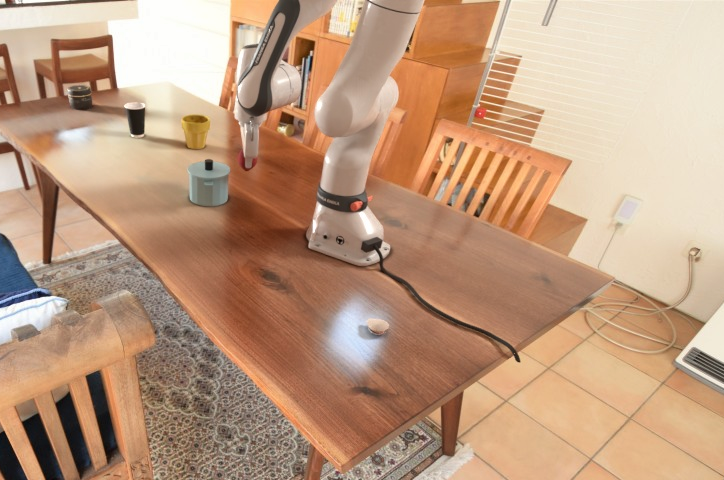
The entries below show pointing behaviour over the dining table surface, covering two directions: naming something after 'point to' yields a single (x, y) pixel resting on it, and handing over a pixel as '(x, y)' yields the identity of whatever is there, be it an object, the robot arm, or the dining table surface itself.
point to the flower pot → (195, 130)
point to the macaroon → (377, 326)
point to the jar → (80, 97)
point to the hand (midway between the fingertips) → (247, 162)
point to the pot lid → (208, 169)
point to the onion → (242, 161)
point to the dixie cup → (136, 118)
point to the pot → (208, 191)
